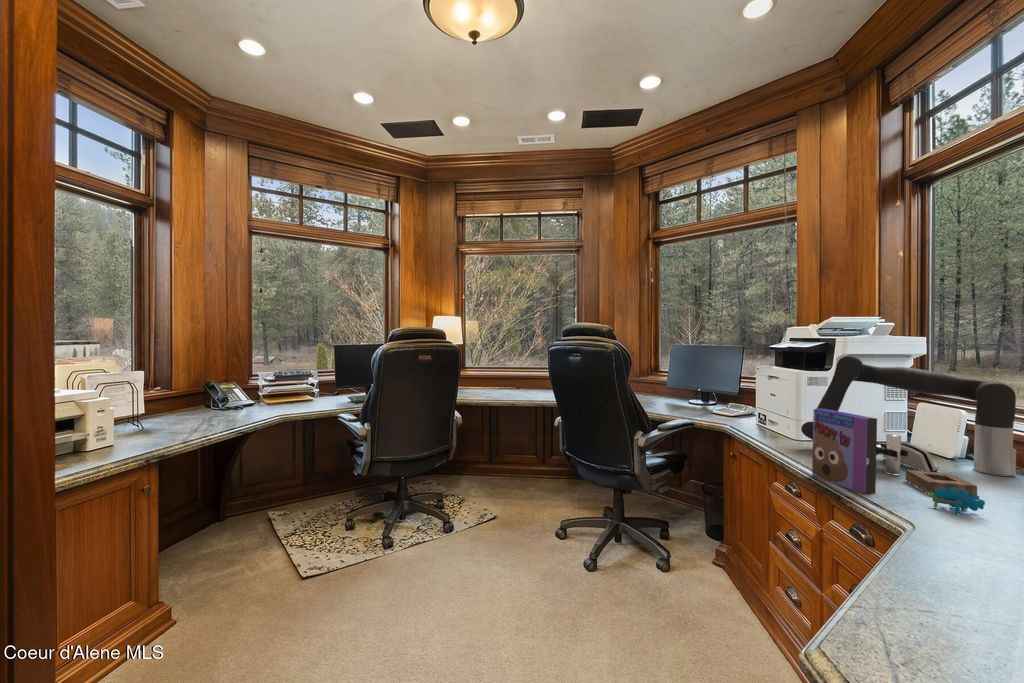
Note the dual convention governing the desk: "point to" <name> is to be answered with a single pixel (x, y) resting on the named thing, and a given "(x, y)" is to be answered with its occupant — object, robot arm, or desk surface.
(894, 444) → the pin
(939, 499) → the toy stegosaurus
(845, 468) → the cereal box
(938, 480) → the socket block
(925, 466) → the grey curved block
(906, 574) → the desk surface
